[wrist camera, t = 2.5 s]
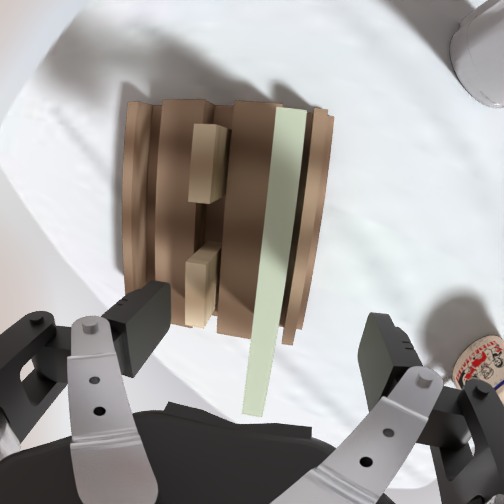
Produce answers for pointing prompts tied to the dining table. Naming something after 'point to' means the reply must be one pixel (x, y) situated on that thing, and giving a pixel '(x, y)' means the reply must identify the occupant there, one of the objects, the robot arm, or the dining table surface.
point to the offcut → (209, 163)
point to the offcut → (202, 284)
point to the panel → (274, 252)
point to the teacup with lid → (482, 364)
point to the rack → (217, 206)
